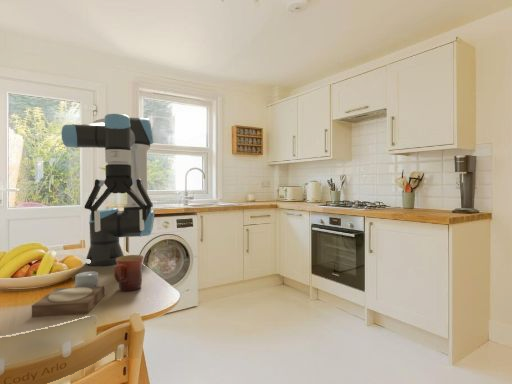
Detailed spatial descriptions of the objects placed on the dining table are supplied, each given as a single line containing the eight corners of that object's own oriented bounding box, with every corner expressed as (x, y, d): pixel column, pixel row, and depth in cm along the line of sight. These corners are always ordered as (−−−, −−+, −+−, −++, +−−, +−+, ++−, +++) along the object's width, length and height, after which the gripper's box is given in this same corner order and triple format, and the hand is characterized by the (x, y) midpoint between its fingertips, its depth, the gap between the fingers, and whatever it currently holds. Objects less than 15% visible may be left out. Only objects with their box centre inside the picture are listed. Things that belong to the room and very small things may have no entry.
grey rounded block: (80, 283, 115) (80, 271, 115) (101, 282, 116) (101, 271, 116) (72, 289, 108) (71, 277, 108) (94, 288, 109) (94, 276, 109)
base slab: (56, 297, 101) (56, 286, 100) (104, 295, 102) (104, 284, 102) (32, 316, 87) (31, 304, 87) (87, 313, 89) (87, 301, 88)
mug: (126, 283, 114) (125, 254, 114) (149, 284, 112) (148, 255, 112) (103, 295, 102) (103, 263, 102) (129, 297, 100) (128, 264, 100)
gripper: (71, 163, 98) (73, 233, 99) (156, 163, 101) (158, 231, 102) (81, 164, 105) (83, 229, 106) (160, 164, 108) (162, 227, 109)
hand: (120, 230), depth 104 cm, fingers open, 13 cm apart
